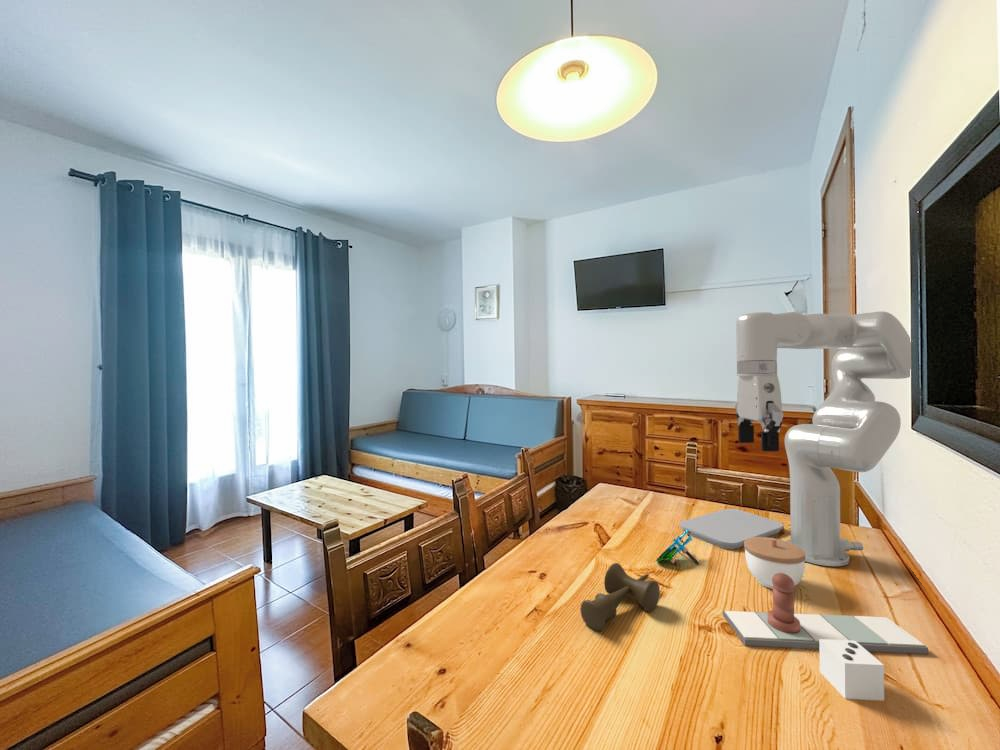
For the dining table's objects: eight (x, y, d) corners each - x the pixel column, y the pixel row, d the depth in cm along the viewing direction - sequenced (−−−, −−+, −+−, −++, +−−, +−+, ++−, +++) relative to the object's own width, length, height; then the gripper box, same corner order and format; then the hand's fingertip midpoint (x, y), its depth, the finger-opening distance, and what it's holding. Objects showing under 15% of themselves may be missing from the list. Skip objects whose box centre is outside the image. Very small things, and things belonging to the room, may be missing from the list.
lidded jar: (744, 566, 92) (743, 525, 92) (802, 578, 87) (801, 535, 87) (744, 588, 83) (744, 543, 83) (809, 603, 78) (809, 555, 78)
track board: (884, 622, 71) (884, 615, 71) (928, 654, 63) (928, 646, 63) (723, 615, 74) (722, 609, 74) (745, 645, 66) (744, 638, 66)
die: (855, 673, 60) (855, 639, 60) (884, 701, 55) (883, 664, 55) (819, 672, 60) (819, 638, 60) (845, 699, 55) (844, 662, 55)
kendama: (568, 620, 75) (627, 579, 88) (613, 648, 67) (670, 599, 80) (568, 589, 74) (627, 552, 87) (613, 613, 67) (670, 569, 80)
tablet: (674, 531, 114) (674, 523, 114) (730, 514, 126) (730, 507, 126) (730, 554, 99) (730, 545, 99) (788, 532, 112) (787, 524, 111)
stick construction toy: (678, 539, 102) (689, 522, 97) (702, 562, 98) (715, 546, 93) (647, 564, 97) (657, 547, 92) (671, 589, 92) (683, 574, 88)
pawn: (789, 617, 71) (788, 567, 71) (806, 634, 67) (806, 581, 67) (762, 616, 72) (761, 567, 72) (777, 633, 67) (776, 580, 67)
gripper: (800, 368, 80) (800, 454, 80) (753, 369, 97) (754, 439, 97) (760, 369, 80) (761, 454, 81) (721, 369, 98) (722, 439, 98)
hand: (757, 446), depth 89 cm, fingers open, 9 cm apart
